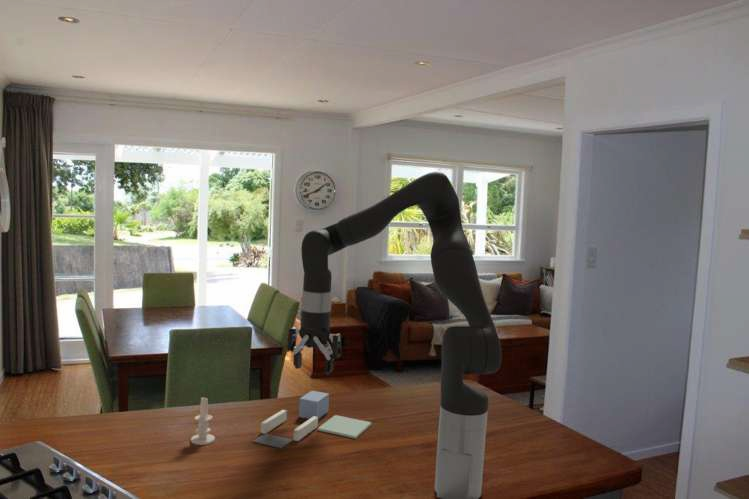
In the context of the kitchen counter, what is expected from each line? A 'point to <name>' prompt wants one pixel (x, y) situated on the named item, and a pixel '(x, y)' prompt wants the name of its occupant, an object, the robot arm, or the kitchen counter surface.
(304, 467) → the kitchen counter surface
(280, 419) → the channel
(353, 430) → the tile
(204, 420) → the white ringed tapered column
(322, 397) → the block
